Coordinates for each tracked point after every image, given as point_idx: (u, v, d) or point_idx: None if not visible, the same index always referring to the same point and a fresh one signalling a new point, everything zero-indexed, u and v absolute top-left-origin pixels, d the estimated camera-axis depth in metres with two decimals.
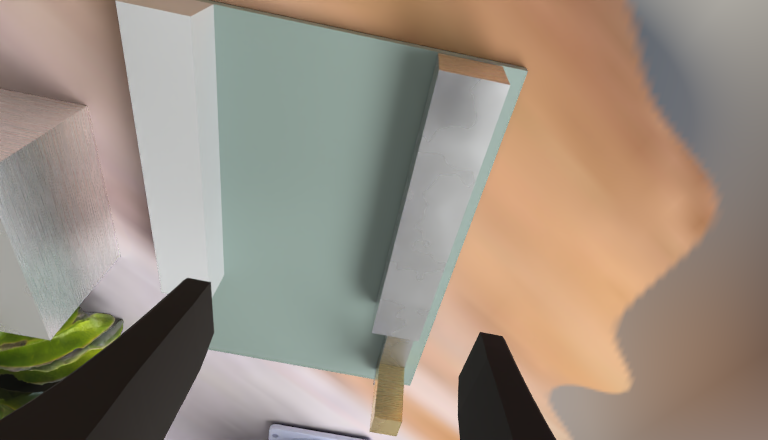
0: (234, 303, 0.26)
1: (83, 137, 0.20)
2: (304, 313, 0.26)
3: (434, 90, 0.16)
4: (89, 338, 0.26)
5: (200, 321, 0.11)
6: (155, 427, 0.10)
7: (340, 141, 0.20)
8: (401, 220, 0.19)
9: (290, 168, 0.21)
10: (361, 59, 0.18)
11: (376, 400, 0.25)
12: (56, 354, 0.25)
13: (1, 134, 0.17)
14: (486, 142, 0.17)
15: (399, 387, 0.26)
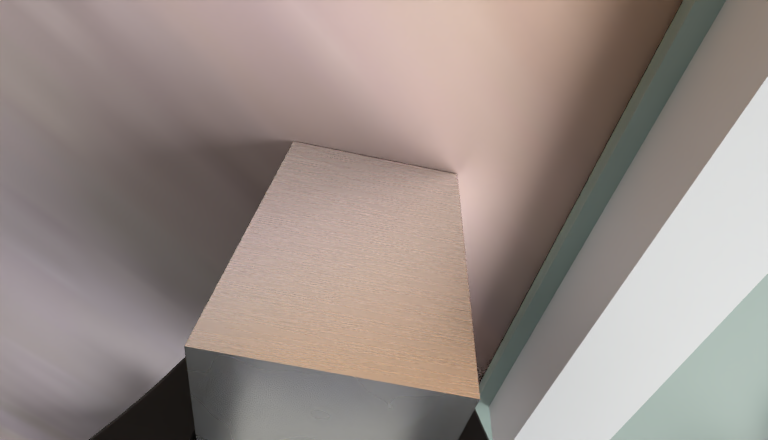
0: None
1: None
2: None
3: None
4: None
5: None
6: None
7: None
8: None
9: None
10: None
11: None
12: None
13: (402, 260, 0.08)
14: None
15: None
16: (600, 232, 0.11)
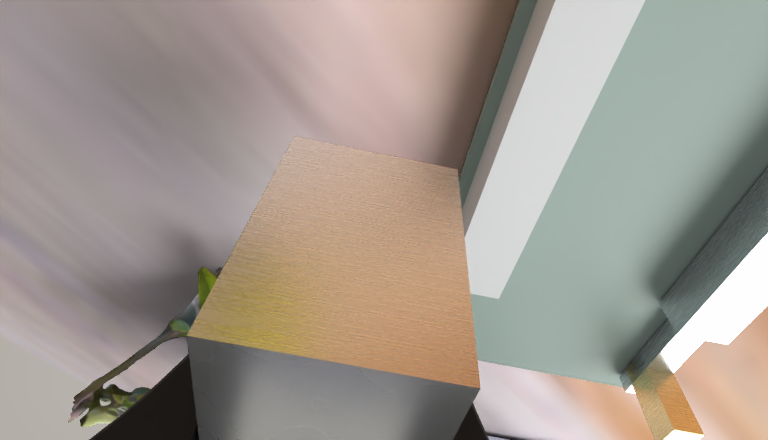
0: (489, 301, 0.24)
1: None
2: (567, 312, 0.24)
3: None
4: None
5: None
6: None
7: (715, 113, 0.17)
8: None
9: (636, 145, 0.18)
10: None
11: (665, 410, 0.22)
12: None
13: (402, 253, 0.08)
14: None
15: (680, 395, 0.23)
16: (501, 106, 0.17)
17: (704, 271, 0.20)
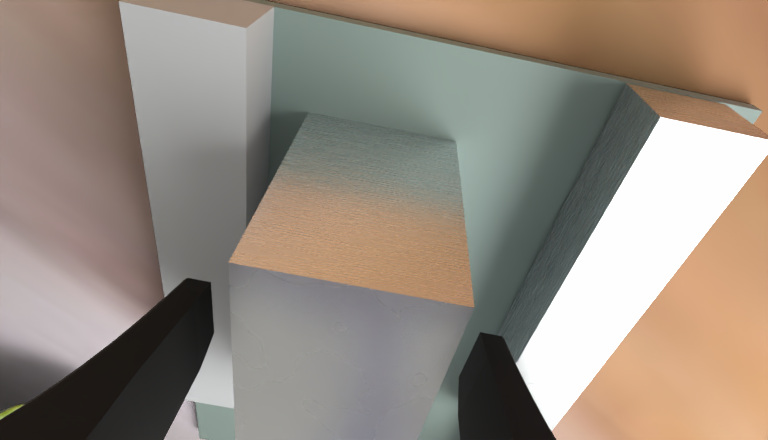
0: None
1: None
2: None
3: (641, 148, 0.10)
4: None
5: (200, 321, 0.11)
6: (155, 427, 0.10)
7: None
8: (539, 325, 0.13)
9: None
10: (499, 92, 0.11)
11: None
12: None
13: (407, 206, 0.09)
14: (706, 225, 0.11)
15: None
16: None
17: None
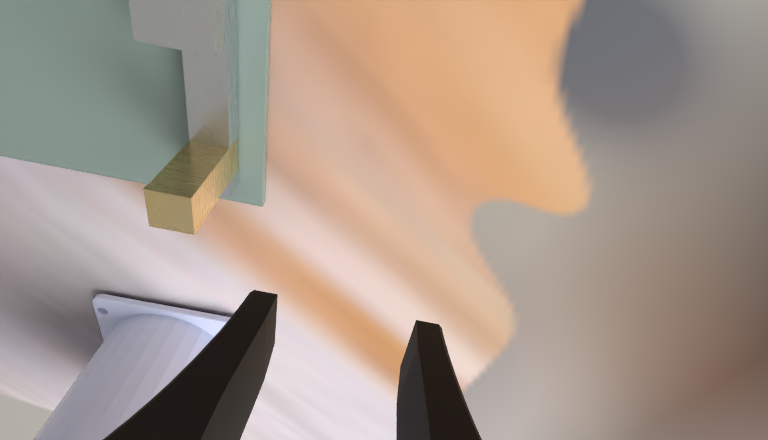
0: None
1: None
2: (66, 57, 0.17)
3: None
4: None
5: (268, 333, 0.11)
6: None
7: None
8: None
9: None
10: None
11: (160, 174, 0.15)
12: None
13: None
14: None
15: (208, 165, 0.16)
16: None
17: None
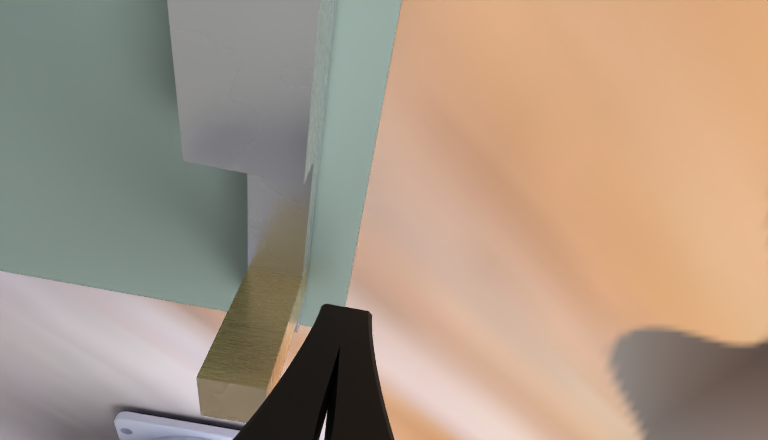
0: None
1: None
2: (88, 159, 0.12)
3: None
4: None
5: None
6: None
7: None
8: None
9: None
10: None
11: (216, 341, 0.10)
12: None
13: None
14: None
15: (280, 315, 0.11)
16: None
17: None
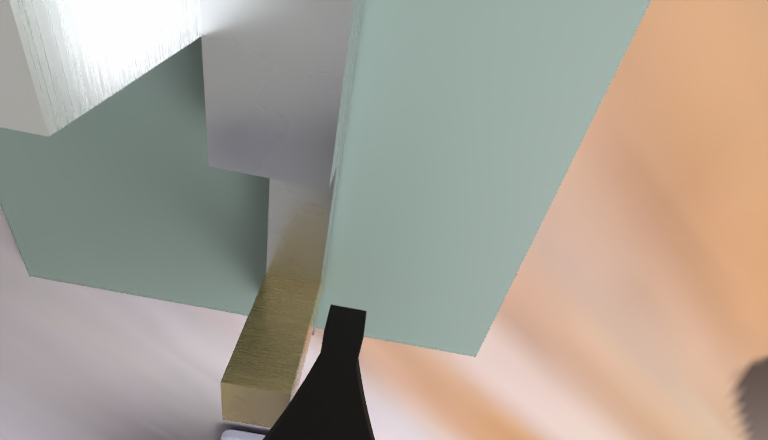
0: (112, 171, 0.12)
1: None
2: (265, 194, 0.12)
3: None
4: None
5: None
6: None
7: None
8: None
9: None
10: None
11: (238, 345, 0.10)
12: None
13: None
14: None
15: (301, 319, 0.11)
16: None
17: None
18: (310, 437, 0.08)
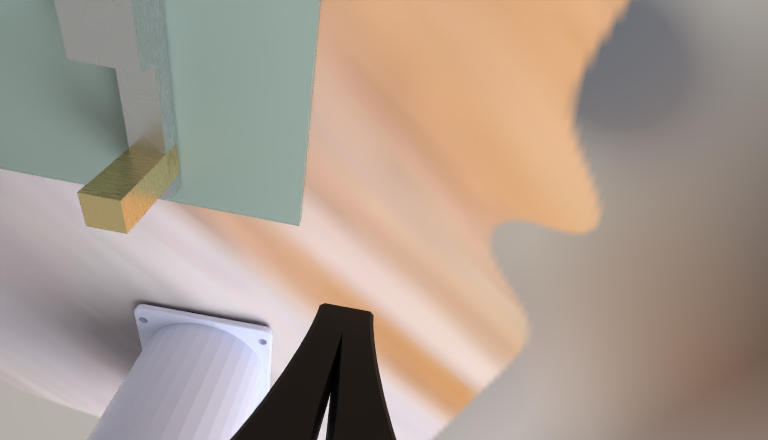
0: (26, 78, 0.18)
1: None
2: None
3: None
4: None
5: None
6: None
7: None
8: None
9: None
10: None
11: (95, 178, 0.17)
12: None
13: None
14: None
15: (143, 170, 0.18)
16: None
17: None
18: None
